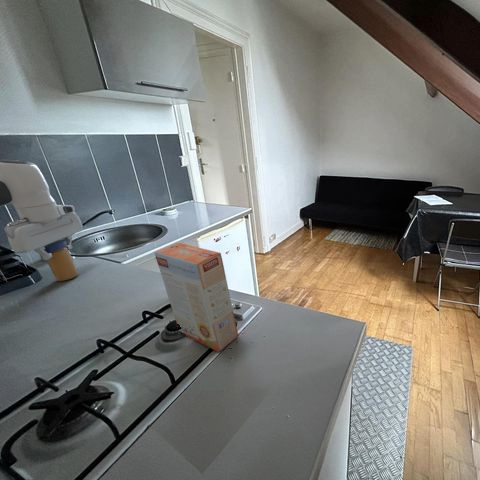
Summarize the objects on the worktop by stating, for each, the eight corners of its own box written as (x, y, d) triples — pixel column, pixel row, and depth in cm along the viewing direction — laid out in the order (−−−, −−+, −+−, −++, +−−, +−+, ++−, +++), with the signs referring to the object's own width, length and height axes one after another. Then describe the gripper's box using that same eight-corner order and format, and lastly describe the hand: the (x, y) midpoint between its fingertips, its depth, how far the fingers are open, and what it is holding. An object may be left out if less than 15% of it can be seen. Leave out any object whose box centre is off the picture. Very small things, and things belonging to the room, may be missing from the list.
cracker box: (240, 335, 59) (222, 251, 51) (218, 354, 54) (195, 264, 46) (200, 317, 65) (179, 240, 58) (178, 332, 61) (151, 251, 53)
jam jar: (56, 282, 85) (40, 250, 81) (56, 277, 89) (41, 246, 85) (79, 276, 89) (65, 245, 85) (78, 270, 93) (64, 240, 89)
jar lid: (71, 245, 87) (69, 240, 87) (49, 253, 82) (47, 247, 81) (59, 244, 89) (57, 239, 88) (37, 251, 84) (34, 246, 83)
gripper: (13, 223, 71) (36, 268, 76) (78, 205, 90) (93, 241, 95) (-9, 224, 71) (15, 269, 77) (60, 205, 90) (76, 242, 96)
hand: (59, 253), depth 86 cm, fingers closed on jam jar, 6 cm apart
